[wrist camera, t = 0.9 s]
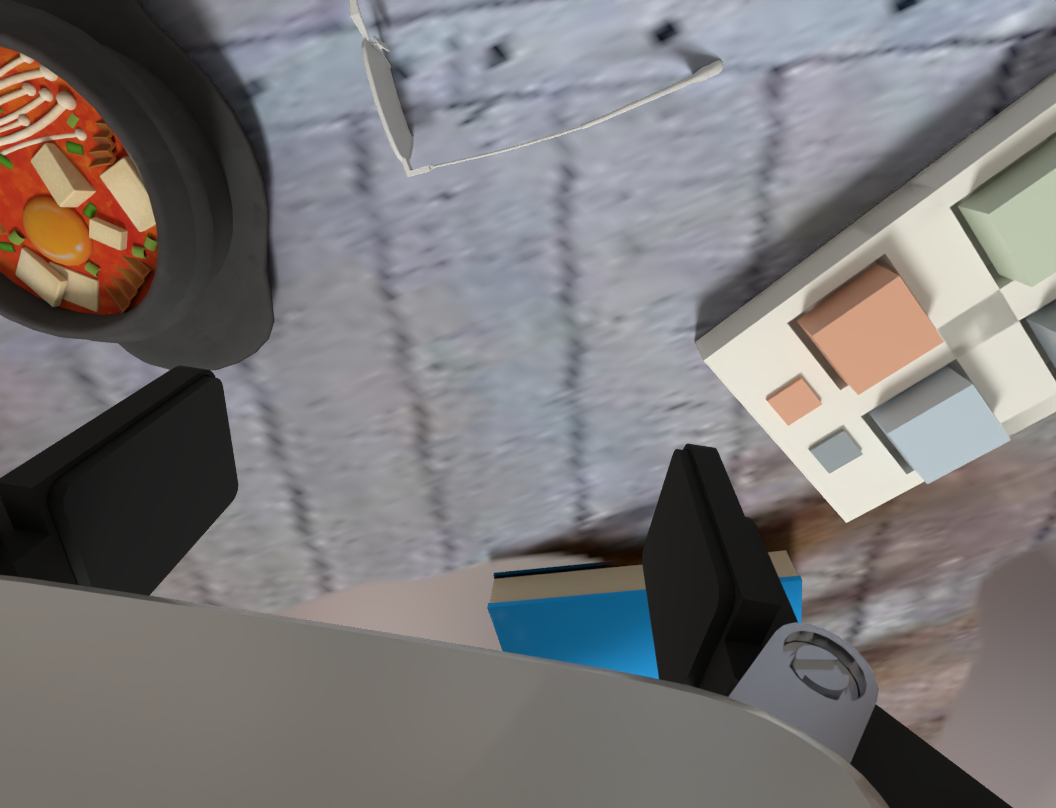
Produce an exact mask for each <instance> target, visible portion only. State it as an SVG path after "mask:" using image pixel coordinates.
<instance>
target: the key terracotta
mask: <svg viewBox="0 0 1056 808" xmlns="http://www.w3.org/2000/svg"><path fill="white" fill-rule="evenodd" d="M797 322H798V323H799V325H800V326H801V327H802V329H803V330H804V331H805V332H806V334H807V335H808V336H809V337H810V339H811V340H812V341H813V343H814V344H815V345H816V346H817V348H818V349H819V350H820V352H821V353H822V354H823V355H824V357H825V358H826V359H827V361H828V362H829V363H830V364H831V366H832V367H833V368H834V369H835V371H836V372H837V373H838V375H839V376H840V377H841V378H842V379H843V380H844V381H845V382H846V383H847V384H848V385H849V386H850V387H851V388H852V389H853V390H854V391H855V392H856V393H857V394H858V395H859V394H861V393H862V392H864V391H866V390H867V389H869V388H871V387H872V386H874V385H875V384H877V383H879V382H880V381H882V380H883V379H885V378H887V377H888V376H890V375H891V374H893V373H895V372H896V371H898V370H899V369H901V368H903V367H904V366H906V365H908V364H909V363H911V362H912V361H914V360H916V359H917V358H919V357H920V356H922V355H924V354H925V353H927V352H928V351H930V350H932V349H933V348H935V347H936V346H938V345H940V344H941V343H943V342H944V341H943V339H942V338H941V336H940V335H939V333H938V332H937V330H936V329H935V327H934V326H933V324H932V323H931V321H930V320H929V318H928V317H927V315H926V314H925V313H924V311H923V310H922V308H921V307H920V305H919V304H918V302H917V301H916V299H915V298H914V296H913V295H912V293H911V292H910V290H909V289H908V287H907V286H906V284H905V283H904V282H903V280H902V279H901V277H900V276H899V275H897V274H895V273H893V272H891V271H889V270H888V269H886V268H884V267H882V266H880V265H878V264H876V265H874V266H873V267H871V268H870V269H869V270H867V271H866V272H864V273H863V274H862V275H860V276H859V277H857V278H856V279H855V280H853V281H852V282H850V283H849V284H847V285H846V286H845V287H843V288H842V289H840V290H839V291H838V292H836V293H835V294H833V295H832V296H831V297H829V298H828V299H826V300H825V301H824V302H822V303H821V304H819V305H818V306H816V307H815V308H814V309H812V310H811V311H809V312H808V313H807V314H805V315H804V316H802V317H801V318H800V319H798V320H797Z"/></svg>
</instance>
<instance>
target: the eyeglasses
mask: <svg viewBox="0 0 1056 808" xmlns="http://www.w3.org/2000/svg"><path fill="white" fill-rule="evenodd" d="M349 2H350V16H351V18H352V20H353V21H354V23H355V24H356V26H357V27H358V29H359V31H360V32H361V34H362V36H363V38H364V39H365V40H363V42H362V55H363V60H364V65H365V68H366V72H367V76H368V80H369V84H370V87H371V91H372V95H373V98H374V101H375V104H376V107H377V110H378V113H379V116H380V118H381V121H382V124H383V127H384V129H385V132H386V134H387V137H388V139H389V142H390V144H391V146H392V148H393V150H394V152H395V154H396V156H397V158H398V159H399V160H400V161H401V162H402V164H403V167H404V169H405V172H406V174H407V177H410V176H414V175H417V174H421V173H425V172H428V171H431V170H433V169H434V168H436V167H441V166H445V165H449V164H454V163H458V162H463V161H467V160H472V159H476V158H480V157H485V156H489V155H493V154H497V153H501V152H505V151H508V150H512V149H516V148H519V147H523V146H526V145H529V144H533V143H536V142H540V141H543V140H547V139H550V138H553V137H557V136H560V135H563V134H566V133H569V132H572V131H575V130H578V129H581V128H582V129H585V128H587V127H590V126H592V125H595V124H597V123H600V122H602V121H605V120H607V119H609V118H612V117H614V116H616V115H618V114H621V113H623V112H626V111H628V110H630V109H633V108H635V107H637V106H640V105H642V104H644V103H647V102H650V101H652V100H655V99H657V98H659V97H661V96H664V95H666V94H668V93H671V92H674V91H676V90H679V89H681V88H683V87H685V86H687V85H689V84H692V83H695V82H702V81H705V80H707V79H708V78H709V77H711V76H714V75H717V74H718V73H720V72H721V71H722V69H723V62H722V61H721V60H717V61H714V62H713V63H711V64H710V65H707V66H703V67H702V68H700V69H699V70H698V71H697V72H696V73H695V74H693V75H691V76H689V77H688V78H686V79H683V80H681V81H678V82H676V83H674V84H672V85H671V86H669V87H667V88H665V89H662V90H660V91H658V92H655V93H653V94H651V95H649V96H647V97H644V98H642V99H640V100H638V101H635V102H633V103H631V104H628V105H626V106H624V107H622V108H620V109H617V110H615V111H613V112H611V113H609V114H607V115H604V116H602V117H599V118H597V119H594V120H592V121H589V122H587V123H584V124H582V125H581V126H579V127H576V128H573V129H570V130H567V131H564V132H561V133H558V134H555V135H551V136H548V137H544V138H541V139H538V140H534V141H531V142H527V143H524V144H521V145H517V146H514V147H510V148H506V149H502V150H499V151H495V152H491V153H487V154H482V155H478V156H474V157H469V158H465V159H460V160H456V161H452V162H447V163H443V164H438V165H434V166H433V165H429V166H425V167H422V168H418V169H415V170H412V167H411V165H410V162H409V160H410V158H411V155H412V150H413V140H414V139H413V135H411V134H410V131H409V128H408V125H407V123H406V120H405V117H404V114H403V111H402V108H401V105H400V102H399V98H398V95H397V91H396V88H395V84H394V81H393V77H392V73H391V70H390V68H391V65H390V63H389V62H388V60H387V59H386V57H385V56H384V54H383V53H382V52H381V50H380V49H382V48H383V49H385V50H386V51H388V52H390V49H389V48H388V47H387V46H386V45H385V44H384V43H383V42H382V41H380V40H379V39H378V38H376V37H375V36H373V37H374V39H375V41H376V43H373V42H372V41H371V40H370V37H369V35H368V32H367V29H366V27H365V24H364V21H363V19H362V16H361V13H360V10H359V6H358V2H357V0H349ZM376 45H377V46H378V47H377V46H376Z"/></svg>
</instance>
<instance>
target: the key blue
mask: <svg viewBox="0 0 1056 808" xmlns="http://www.w3.org/2000/svg"><path fill="white" fill-rule="evenodd" d="M869 414H870V416H871V417H872V418H873V419H874V421H875V422H876V423H877V425H878V426H879V427H880V428H881V430H882V431H883V432H884V434H885V435H886V436H887V437H888V439H889V440H890V441H891V442H892V444H893V445H894V446H895V448H896V449H897V450H898V451H899V453H900V454H901V455H902V457H903V458H904V459H905V460H906V462H907V463H908V464H909V465H910V466H911V467H912V468H913V469H914V470H915V471H916V472H917V474H918V475H919V476H920V477H921V478H922V479H923V480H924V481H925V482H926V483H927V484H929V483H930V482H932V481H934V480H936V479H938V478H940V477H942V476H944V475H946V474H947V473H949V472H951V471H953V470H955V469H957V468H959V467H961V466H963V465H965V464H966V463H968V462H970V461H972V460H974V459H976V458H978V457H980V456H982V455H983V454H985V453H987V452H989V451H991V450H993V449H995V448H997V447H999V446H1001V445H1002V444H1004V443H1006V442H1008V441H1010V440H1011V439H1010V438H1009V436H1008V435H1007V434H1006V432H1005V431H1004V429H1003V428H1002V426H1001V425H1000V423H999V422H998V420H997V419H996V417H995V416H994V414H993V413H992V411H991V410H990V408H989V407H988V405H987V404H986V403H985V401H984V400H983V398H982V397H981V395H980V394H979V392H978V391H977V389H976V388H975V386H974V385H973V384H972V383H971V382H969V381H968V380H966V379H965V378H964V377H962V376H961V375H959V374H958V373H956V372H955V371H954V370H952V369H951V368H949V367H948V366H946V367H944V368H943V369H941V370H939V371H938V372H936V373H934V374H933V375H931V376H929V377H928V378H926V379H924V380H923V381H921V382H919V383H918V384H916V385H914V386H913V387H911V388H909V389H908V390H906V391H904V392H903V393H901V394H900V395H898V396H896V397H895V398H893V399H891V400H890V401H888V402H886V403H885V404H883V405H881V406H880V407H878V408H876V409H875V410H873V411H871V412H870V413H869Z"/></svg>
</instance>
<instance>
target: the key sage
mask: <svg viewBox="0 0 1056 808" xmlns="http://www.w3.org/2000/svg"><path fill="white" fill-rule="evenodd" d="M958 207H959V209H960V211H961V212H962V214H963V215H964V217H965V219H966V220H967V222H968V224H969V225H970V227H971V229H972V230H973V232H974V234H975V235H976V237H977V239H978V240H979V242H980V244H981V245H982V247H983V249H984V250H985V252H986V254H987V255H988V257H989V259H990V260H991V262H992V264H993V265H994V267H995V269H996V270H997V272H998V274H999V275H1002V276H1004V277H1007V278H1009V279H1012V280H1014V281H1017V282H1020V283H1022V284H1025V285H1027V286H1030V287H1033V286H1035V285H1036V284H1038V283H1039V282H1041V281H1043V280H1044V279H1046V278H1048V277H1049V276H1051V275H1052V274H1054V273H1056V137H1055V138H1053V139H1052V140H1050V141H1049V142H1048V143H1046V144H1045V145H1043V146H1042V147H1041V148H1039V149H1038V150H1036V151H1035V152H1033V153H1032V154H1031V155H1029V156H1028V157H1026V158H1025V159H1024V160H1022V161H1021V162H1019V163H1018V164H1017V165H1015V166H1014V167H1012V168H1011V169H1010V170H1008V171H1007V172H1005V173H1004V174H1002V175H1001V176H1000V177H998V178H997V179H995V180H994V181H993V182H991V183H990V184H988V185H987V186H986V187H984V188H983V189H981V190H980V191H979V192H977V193H976V194H974V195H973V196H971V197H970V198H969V199H967V200H966V201H964V202H963V203H962V204H960V205H959V206H958Z"/></svg>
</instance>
